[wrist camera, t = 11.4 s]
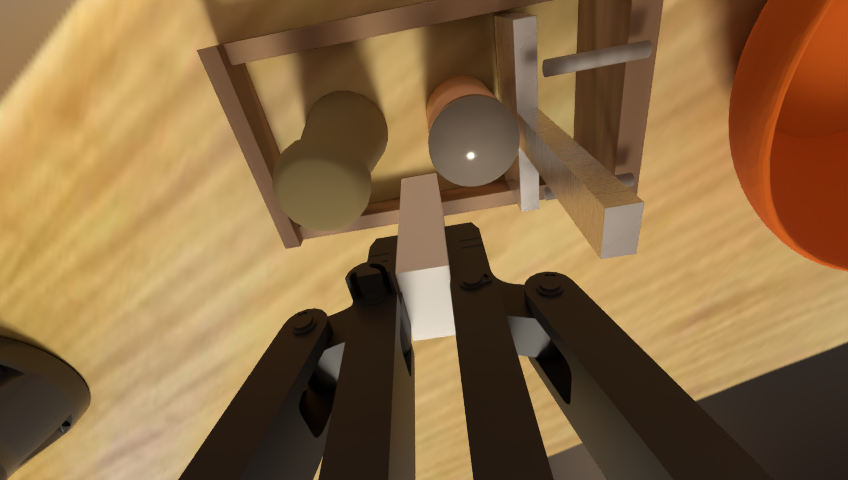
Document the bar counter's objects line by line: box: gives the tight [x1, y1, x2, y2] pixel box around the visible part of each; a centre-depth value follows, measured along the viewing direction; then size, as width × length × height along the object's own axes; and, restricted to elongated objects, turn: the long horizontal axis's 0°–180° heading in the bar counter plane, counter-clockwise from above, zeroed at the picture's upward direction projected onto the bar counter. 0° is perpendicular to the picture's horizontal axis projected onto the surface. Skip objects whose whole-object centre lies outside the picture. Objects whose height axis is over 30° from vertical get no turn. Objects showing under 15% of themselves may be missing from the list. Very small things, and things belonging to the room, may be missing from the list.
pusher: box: [494, 12, 644, 259], centre depth 20 cm, size 1×11×18 cm, turn 10°
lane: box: [197, 0, 663, 249], centre depth 25 cm, size 25×14×8 cm, turn 100°
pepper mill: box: [272, 91, 388, 231], centre depth 24 cm, size 6×6×11 cm
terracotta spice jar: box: [426, 76, 520, 187], centre depth 25 cm, size 5×5×7 cm
